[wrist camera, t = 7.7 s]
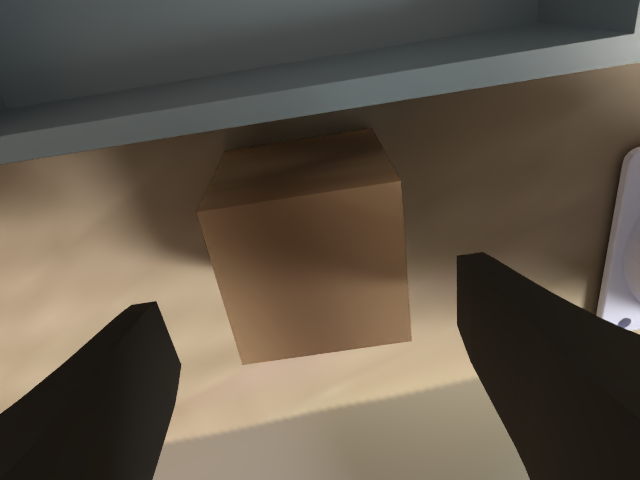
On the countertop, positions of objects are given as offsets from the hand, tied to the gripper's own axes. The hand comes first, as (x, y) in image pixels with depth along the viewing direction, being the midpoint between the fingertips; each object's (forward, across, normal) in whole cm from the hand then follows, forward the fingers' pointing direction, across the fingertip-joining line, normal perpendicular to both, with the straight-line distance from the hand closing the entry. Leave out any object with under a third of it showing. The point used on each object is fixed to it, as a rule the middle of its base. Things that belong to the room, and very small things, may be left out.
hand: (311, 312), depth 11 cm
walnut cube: (+6, 0, 0) cm, 6 cm away
